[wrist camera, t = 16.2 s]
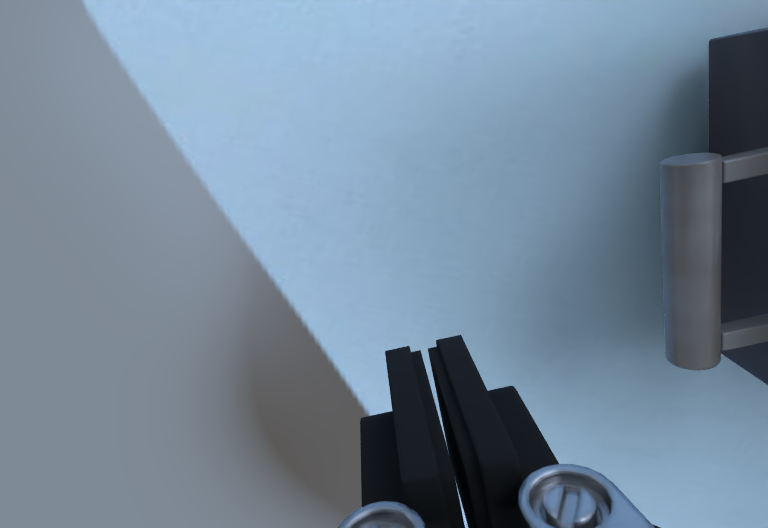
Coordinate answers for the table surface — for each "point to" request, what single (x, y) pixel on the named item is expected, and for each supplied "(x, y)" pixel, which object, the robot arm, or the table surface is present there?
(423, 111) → the table surface
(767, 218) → the drawer
